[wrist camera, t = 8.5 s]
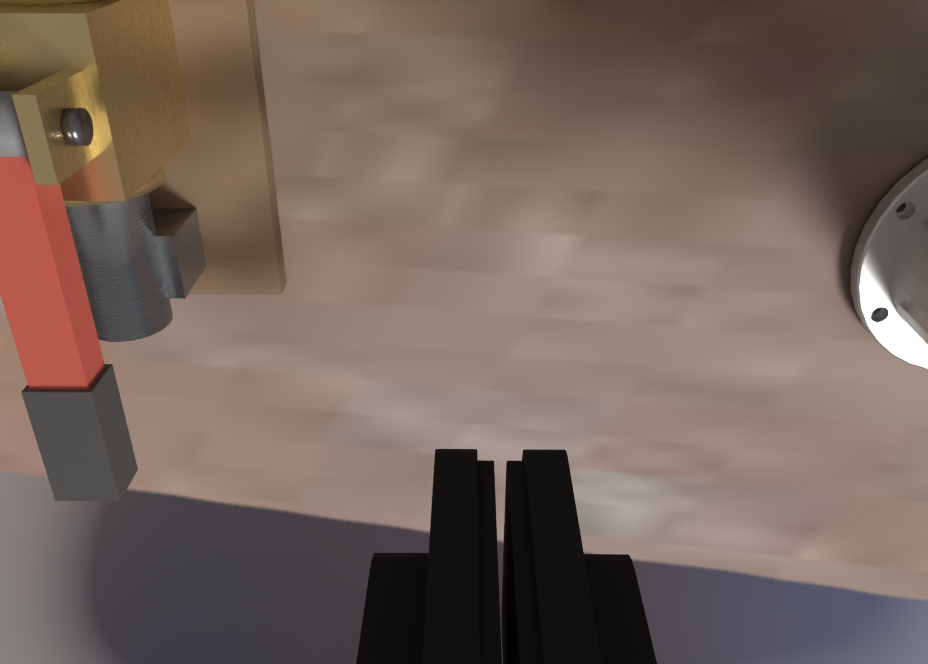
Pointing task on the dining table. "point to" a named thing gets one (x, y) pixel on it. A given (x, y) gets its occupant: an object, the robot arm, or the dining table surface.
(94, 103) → the valve
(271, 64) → the dining table surface
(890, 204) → the robot arm
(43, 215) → the lever
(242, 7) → the mount board
